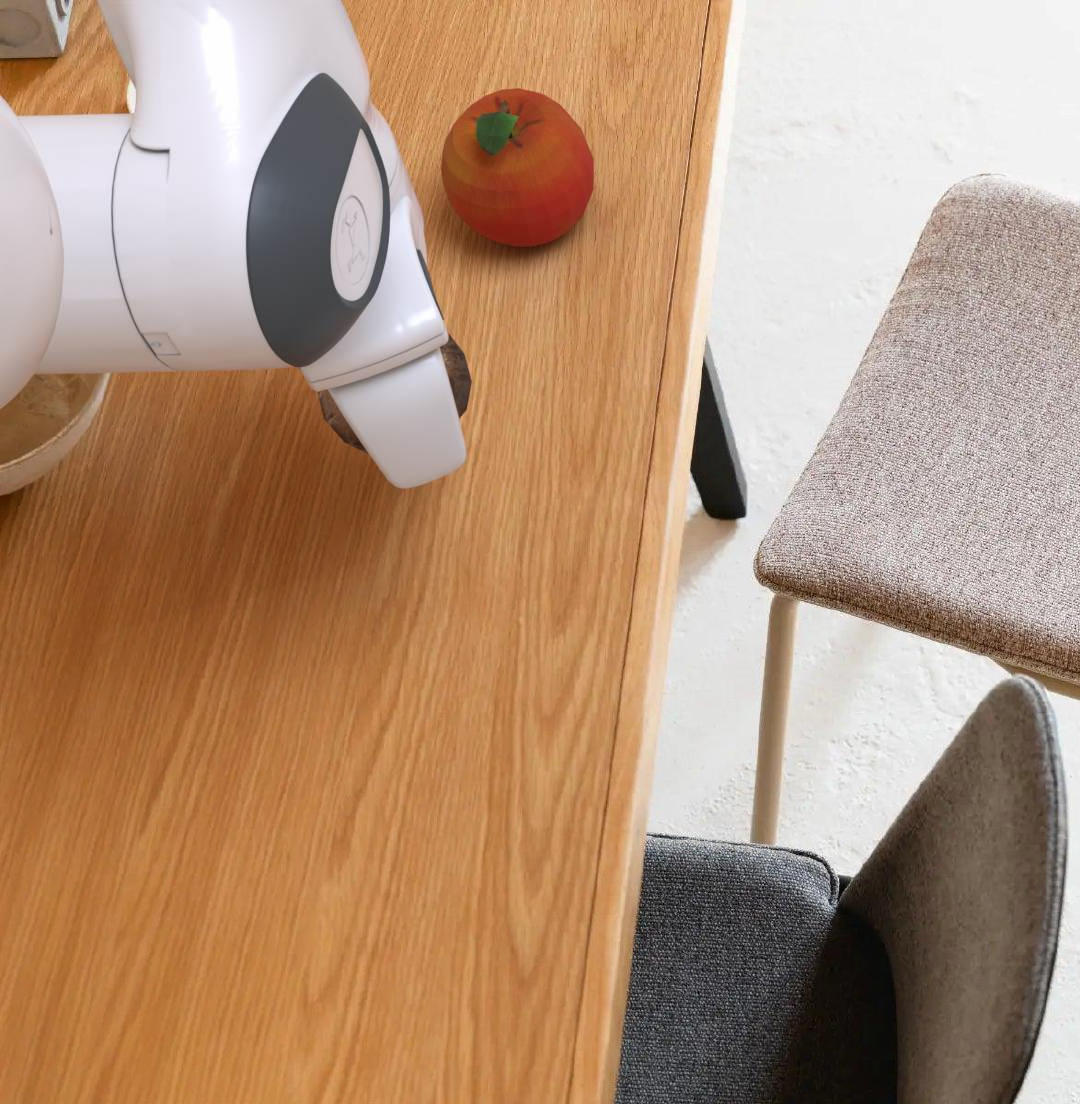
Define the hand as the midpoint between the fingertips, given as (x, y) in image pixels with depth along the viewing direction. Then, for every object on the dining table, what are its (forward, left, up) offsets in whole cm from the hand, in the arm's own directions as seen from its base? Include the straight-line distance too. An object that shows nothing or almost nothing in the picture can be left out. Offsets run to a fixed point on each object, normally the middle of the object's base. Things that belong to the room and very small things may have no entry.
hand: (400, 392), depth 79 cm
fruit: (+12, +17, -9) cm, 23 cm away
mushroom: (0, 0, -2) cm, 2 cm away
